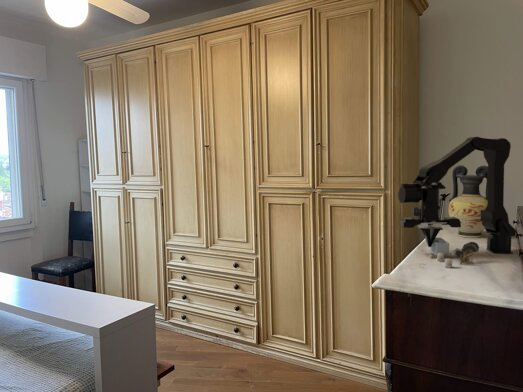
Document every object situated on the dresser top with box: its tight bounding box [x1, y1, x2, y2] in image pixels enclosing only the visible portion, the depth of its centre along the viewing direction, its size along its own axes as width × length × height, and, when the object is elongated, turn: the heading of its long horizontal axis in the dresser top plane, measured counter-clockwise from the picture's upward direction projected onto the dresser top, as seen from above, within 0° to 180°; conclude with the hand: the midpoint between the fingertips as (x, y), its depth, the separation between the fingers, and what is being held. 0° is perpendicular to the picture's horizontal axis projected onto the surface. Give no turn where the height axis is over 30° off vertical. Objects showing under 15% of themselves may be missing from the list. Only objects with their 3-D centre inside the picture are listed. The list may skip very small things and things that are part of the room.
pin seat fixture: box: [430, 253, 460, 269], centre depth 134 cm, size 10×19×2 cm, turn 173°
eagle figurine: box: [450, 241, 480, 265], centre depth 131 cm, size 8×7×9 cm
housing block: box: [430, 237, 450, 255], centre depth 141 cm, size 4×7×5 cm, turn 173°
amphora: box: [448, 164, 488, 239], centre depth 172 cm, size 18×17×30 cm
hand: (429, 246), depth 142 cm, fingers closed
